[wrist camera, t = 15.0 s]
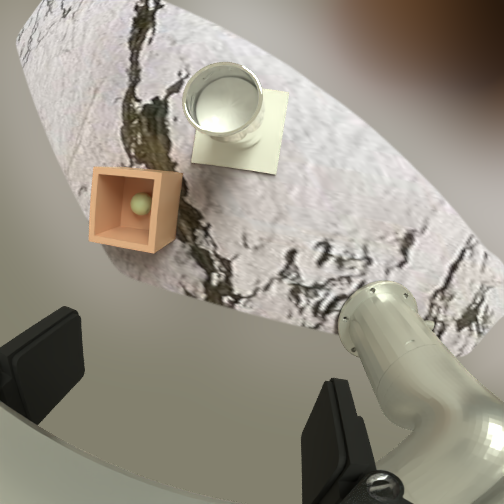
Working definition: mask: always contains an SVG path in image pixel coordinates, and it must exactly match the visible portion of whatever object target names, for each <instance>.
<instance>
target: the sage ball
mask: <svg viewBox="0 0 504 504" xmlns="http://www.w3.org/2000/svg"><path fill="white" fill-rule="evenodd" d="M130 205H131V209H132V211H133V212H134V213H135V214H137V215H145V214H147V213H149V212H150V211H151V207H152V198H151V197H150V195H148V194H147V193H144V192H140V193H137V194H135V195H134V196H133V197H132V199H131V203H130Z"/></svg>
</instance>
